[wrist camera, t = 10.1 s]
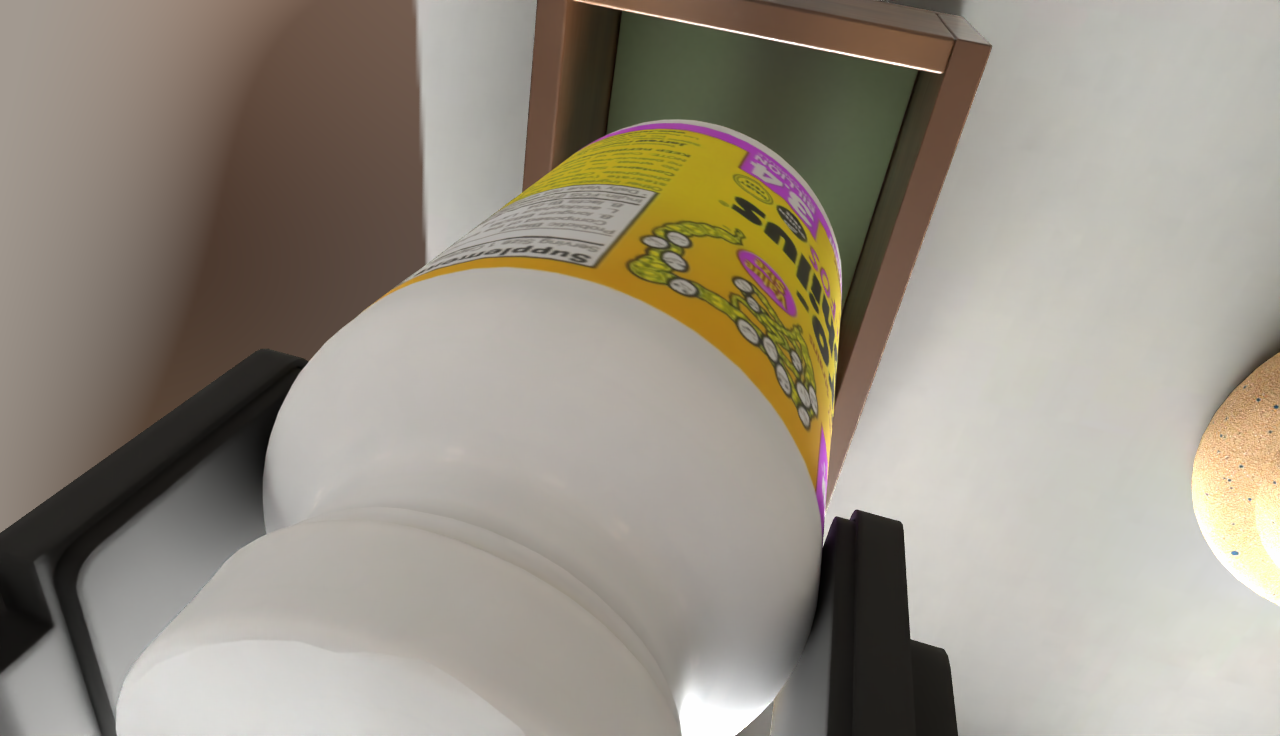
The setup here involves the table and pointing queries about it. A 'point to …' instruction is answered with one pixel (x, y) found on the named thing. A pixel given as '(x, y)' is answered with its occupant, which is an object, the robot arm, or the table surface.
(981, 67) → the wooden divided tray
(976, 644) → the table surface
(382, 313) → the supplement bottle
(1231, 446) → the candle holder
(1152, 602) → the table surface
